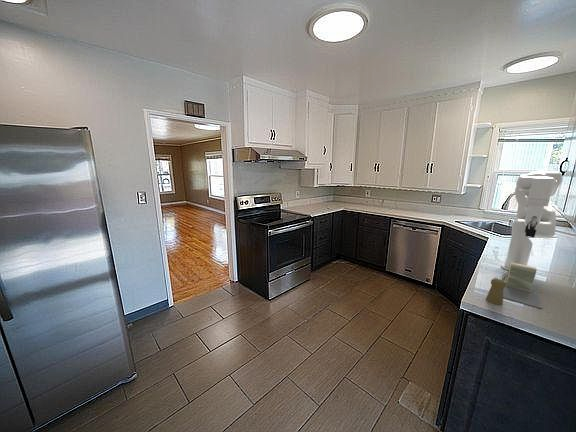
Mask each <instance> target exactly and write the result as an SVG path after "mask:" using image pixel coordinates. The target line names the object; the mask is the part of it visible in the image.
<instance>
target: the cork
mask: <svg viewBox="0 0 576 432" xmlns="http://www.w3.org/2000/svg"><path fill="white" fill-rule="evenodd" d="M490 284H491V286H490V288H489V290H488V293H487V294H486V298H485V300H486V302H488V303H490V304H492V305H497V306H503V304H504V298H503V289H504V288H505V287H506V280H504V279H502V278H501V279H500V278H496V277H495V278H492V279H491V280H490Z"/></svg>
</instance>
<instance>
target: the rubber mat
mask: <svg viewBox="0 0 576 432" xmlns="http://www.w3.org/2000/svg"><path fill="white" fill-rule="evenodd" d="M503 299H505V300H509V301H512V302H515V301H516V302H515V303H520V304H523V305H526V306H530V307H533V308H535V309H536V308H537V309H540V310H543V306H542V302H541V300H540V296H539V293H538V291H537V288H533V287H532V289H531V292H528V291H525V290H521V289H517V288H513V287H509V286H506V287H505V288H504V289H503Z"/></svg>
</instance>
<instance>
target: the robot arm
mask: <svg viewBox="0 0 576 432" xmlns="http://www.w3.org/2000/svg"><path fill="white" fill-rule="evenodd" d="M562 180H563V176H562V173H561V172H559V171H556V170H555V171H552V170H551V171H547V170H545V171H544V170H535V171H531V172H529V173H526V174H521V175H520V176H518V177H517V180H516V182H515V183H516V184H515V185H516V186H515V189H514V196H515V199H516V202H517V210H516V219H515V220H514V221H513V222H512V224H511V236H510V241H509V246H508V250H507V254H506V258H505V262H503V263H501V264H500V267H501V268H502V269H504V270H507V271H509V269H510V265H511V262H512V263H517V264H522V265H526V266H528V263H529V261H530V260H529V259H530V255H531V251H532V248H533V242H532V240H531V239H530V238H538V239H545V240H546V239H547V240H548V239H549V240H550V239H552V238H553V237H554V236H555V234H556V230H557V228H556V225H557V221H556V220H557V214H556V211H554V210H553V209H551V208H545V207H549V205H550V198H551V197H553V196H554V195H555V194H556V193H557V190H558V189H559V187H560V185H561V183H562Z"/></svg>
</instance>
